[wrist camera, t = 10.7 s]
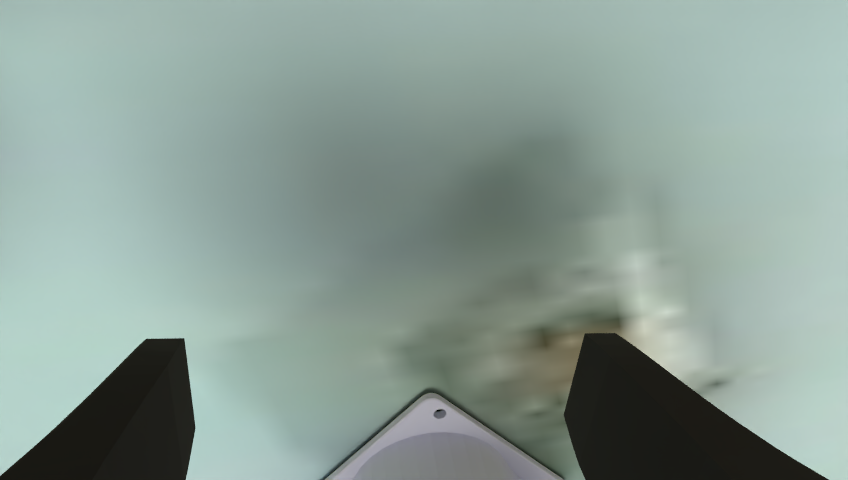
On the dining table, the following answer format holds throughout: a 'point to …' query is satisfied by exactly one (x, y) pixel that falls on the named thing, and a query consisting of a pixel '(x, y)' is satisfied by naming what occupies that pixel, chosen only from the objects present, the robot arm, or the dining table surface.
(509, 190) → the dining table surface
